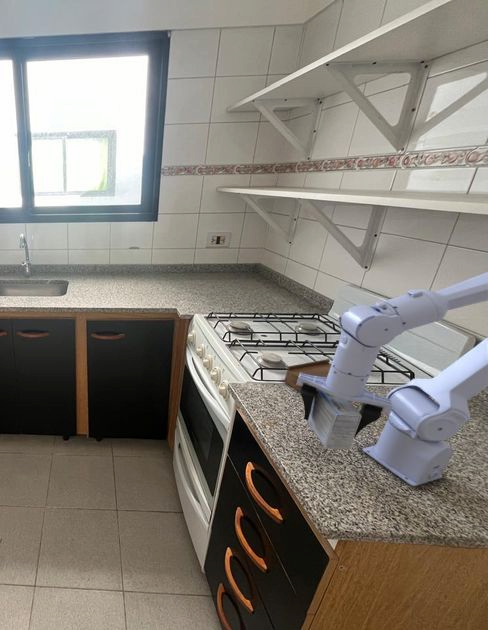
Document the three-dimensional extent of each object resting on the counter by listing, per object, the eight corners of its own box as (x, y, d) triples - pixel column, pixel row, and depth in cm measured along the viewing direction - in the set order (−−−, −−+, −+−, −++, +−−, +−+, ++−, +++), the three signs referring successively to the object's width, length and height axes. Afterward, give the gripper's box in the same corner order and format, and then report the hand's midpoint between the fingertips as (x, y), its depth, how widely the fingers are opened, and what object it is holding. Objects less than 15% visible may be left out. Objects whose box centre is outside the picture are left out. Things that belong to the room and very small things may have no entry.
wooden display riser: (358, 394, 91) (364, 378, 89) (316, 403, 88) (321, 387, 86) (323, 373, 100) (328, 358, 98) (284, 381, 96) (288, 366, 94)
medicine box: (349, 451, 67) (363, 415, 63) (324, 449, 67) (336, 413, 64) (328, 423, 74) (340, 390, 70) (305, 421, 74) (316, 388, 71)
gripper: (401, 372, 63) (375, 430, 68) (308, 348, 72) (291, 401, 77) (403, 390, 58) (375, 451, 63) (302, 362, 67) (285, 418, 72)
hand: (329, 425), depth 70 cm, fingers closed on medicine box, 7 cm apart
